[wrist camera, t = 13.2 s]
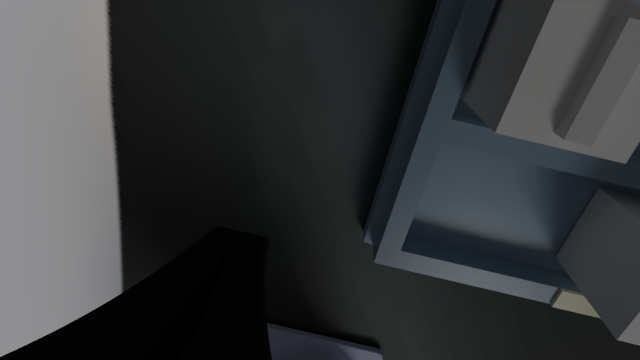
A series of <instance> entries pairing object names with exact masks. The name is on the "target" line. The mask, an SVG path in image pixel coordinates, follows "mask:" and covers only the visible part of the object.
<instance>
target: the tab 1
mask: <svg viewBox="0 0 640 360" xmlns="http://www.w3.org/2000/svg"><path fill="white" fill-rule="evenodd" d="M460 98H461V99H462V100H463V101H464V102H465V103H466V104H467V105H468V106H469V107H470V108H471V109H472V110H473V111H474V112H475V113H476V114H477V115H478V116H479V117H480V118H481V119H482V120H483V121H484V122H485V123H486V124H487V125H488V126H489V127H490V128H491V129H492V130H493V131H494V132H495V133H498V134H502V135H506V136H510V137H514V138H519V139H523V140H527V141H531V142H535V143H540V144H544V145H548V146H552V147H556V148H561V149H565V150H569V151H573V152H577V153H582V154H586V155H590V156H594V157H599V158H603V159H607V160H611V161H615V162H620V163H624V164H626V163H627V161H628V159H629V158H630V156H631V155H632V153H633V152H634V150H635V148H636V147H637V145H638V144H639V142H640V3H637V2H633V1H628V0H497V2H496V4H495V7H494V9H493V12H492V15H491V17H490V20H489V22H488V25H487V28H486V30H485V33H484V35H483V38H482V41H481V43H480V46H479V48H478V51H477V53H476V56H475V59H474V61H473V64H472V66H471V69H470V72H469V74H468V77H467V79H466V82H465V85H464V87H463V90H462V92H461V95H460Z"/></svg>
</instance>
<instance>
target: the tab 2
mask: <svg viewBox="0 0 640 360" xmlns="http://www.w3.org/2000/svg"><path fill="white" fill-rule="evenodd" d="M555 258H556V259H557V260H558V262H559V263H560V264H561V266H562V267H563V268H564V270H565V271H566V272H567V274H568V275H569V276H570V278H571V279H572V280H573V282H574V283H575V284H576V286H577V287H578V288H579V290H580V291H581V292H582V294H583V295H584V297H585V298H586V299H587V301H588V302H589V303H590V305H591V306H592V307H593V309H594V310H595V311H596V313H597V314H598V315H599V317H600V318H601V319H602V321H603V322H604V323H605V325H606V326H607V327H608V329H609V330H610V331H611V333H612V334H613V335H614V337H615V338H616V339H617V340H619V341H623V342H628V343H632V344H636V345H640V197H638V196H633V195H629V194H625V193H621V192H617V191H612V190H608V189H604V188H600V187H599V188H598V190H597V191H596V193H595V194H594V196H593V198H592V199H591V201H590V202H589V204H588V206H587V207H586V209H585V210H584V212H583V214H582V215H581V217H580V219H579V220H578V222H577V223H576V225H575V227H574V228H573V230H572V231H571V233H570V235H569V236H568V238H567V239H566V241H565V243H564V244H563V246H562V248H561V249H560V251H559V252H558V254H557V256H556V257H555Z"/></svg>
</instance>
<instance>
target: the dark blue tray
mask: <svg viewBox="0 0 640 360" xmlns="http://www.w3.org/2000/svg"><path fill="white" fill-rule="evenodd" d="M628 1H633V2H637V3H640V0H628ZM496 2H497V0H437V2H436V5H435V9H434V12H433V15H432V18H431V21H430V24H429V27H428V30H427V33H426V37H425V40H424V43H423V46H422V49H421V52H420V55H419V58H418V62H417V65H416V68H415V71H414V74H413V77H412V80H411V83H410V87H409V90H408V93H407V96H406V99H405V102H404V105H403V108H402V112H401V115H400V118H399V121H398V124H397V127H396V130H395V133H394V137H393V140H392V143H391V146H390V149H389V152H388V155H387V158H386V162H385V165H384V168H383V171H382V174H381V177H380V180H379V183H378V187H377V190H376V193H375V196H374V199H373V202H372V205H371V208H370V212H369V215H368V218H367V221H366V224H365V227H364V230H363V242H366V243H370V244H373V256H374V263H378V264H382V265H386V266H391V267H395V268H399V269H404V270H408V271H412V272H416V273H421V274H425V275H429V276H433V277H438V278H442V279H446V280H451V281H455V282H459V283H463V284H468V285H472V286H476V287H481V288H485V289H489V290H493V291H498V292H502V293H506V294H511V295H515V296H519V297H523V298H528V299H532V300H536V301H540V302H545V303H549V304H551V306H552V307H555V308H559V309H563V310H568V311H572V312H576V313H581V314H585V315H589V316H593V317H598V318H600V317H599V315H598V314H597V313H596V311H595V310H594V309H593V307H592V306H591V305H590V303H589V302H588V301H587V299H586V298H585V297H584V295H583V294H582V292H581V291H580V290H579V288H578V287H577V286H576V284H575V283H574V282H573V280H572V279H571V278H570V276H569V275H568V274H567V272H566V271H565V270H564V268H563V267H562V266H561V264H560V263H559V262H558V260H557V259H556V258H555V257H556V256H557V254H558V252H559V251H560V249H561V248H562V246H563V244H564V243H565V241H566V239H567V238H568V236H569V235H570V233H571V231H572V230H573V228H574V227H575V225H576V223H577V222H578V220H579V219H580V217H581V215H582V214H583V212H584V210H585V209H586V207H587V206H588V204H589V202H590V201H591V199H592V198H593V196H594V194H595V193H596V191H597V190H598V188H599V187H600V188H604V189H608V190H612V191H617V192H621V193H625V194H629V195H633V196H638V197H640V142H639V144H638V145H637V147H636V148H635V150H634V152H633V153H632V155H631V156H630V158H629V159H628V161H627V163H626V164H624V163H620V162H615V161H611V160H607V159H603V158H599V157H594V156H590V155H586V154H582V153H577V152H573V151H569V150H565V149H561V148H556V147H552V146H548V145H544V144H540V143H535V142H531V141H527V140H523V139H519V138H514V137H510V136H506V135H502V134H498V133H495V132H494V131H493V130H492V129H491V128H490V127H489V126H488V125H487V124H486V123H485V122H484V121H483V120H482V119H481V118H480V117H479V116H478V115H477V114H476V113H475V112H474V111H473V110H472V109H471V108H470V107H469V106H468V105H467V104H466V103H465V102H464V101H463V100H462V99H461V98H460V95H461V92H462V90H463V87H464V85H465V82H466V79H467V77H468V74H469V72H470V69H471V66H472V64H473V61H474V59H475V56H476V53H477V51H478V48H479V46H480V43H481V41H482V38H483V35H484V33H485V30H486V28H487V25H488V22H489V20H490V17H491V15H492V12H493V9H494V7H495V4H496Z"/></svg>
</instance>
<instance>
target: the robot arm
mask: <svg viewBox="0 0 640 360" xmlns="http://www.w3.org/2000/svg"><path fill="white" fill-rule="evenodd" d="M269 247H270V241H269V240H268V239H267V237H262V236H258V235H254V234H249V233H245V232H241V231H237V230H232V229H228V228H224V227H220V226H217V227H216V228H214V229H212V230H211V231H210V232H208V233H207V234H206V235H205V236H203V237H202V238H201V239H199V240H198V241H197V242H196V243H194V244H193V245H192V246H190V247H189V248H188V249H186V250H185V251H184V252H182V253H181V254H180V255H178V256H177V257H175V258H174V259H173V260H171V261H170V262H168V263H167V264H165V265H164V266H163V267H161V268H160V269H158V270H157V271H155V272H154V273H153V274H151V275H150V276H148V277H147V278H145V279H144V280H142V281H140V282H139V283H137V284H136V285H134V286H133V287H131V288H129V289H128V290H126V291H125V292H123V293H121V294H120V295H118V296H117V297H115V298H114V299H112V300H110V301H109V302H107V303H105V304H103V305H102V306H100V307H98V308H97V309H95V310H93V311H91V312H90V313H88V314H86V315H84V316H82V317H81V318H79V319H77V320H75V321H73V322H71V323H69V324H68V325H66V326H64V327H62V328H60V329H58V330H56V331H54V332H52V333H50V334H48V335H46V336H44V337H42V338H40V339H38V340H36V341H34V342H32V343H30V344H28V345H25V346H23V347H21V348H19V349H17V350H15V351H13V352H10V353H8V354H6V355H4V356H2V357H0V360H382V359H383V353H382V351H381V350H380V349H378V348H374V347H370V346H365V345H361V344H357V343H352V342H348V341H344V340H339V339H335V338H331V337H326V336H322V335H318V334H313V333H309V332H305V331H301V330H296V329H292V328H288V327H283V326H279V325H275V324H270V323H267V318H266V306H265V268H266V263H267V257H268V252H269Z"/></svg>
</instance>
